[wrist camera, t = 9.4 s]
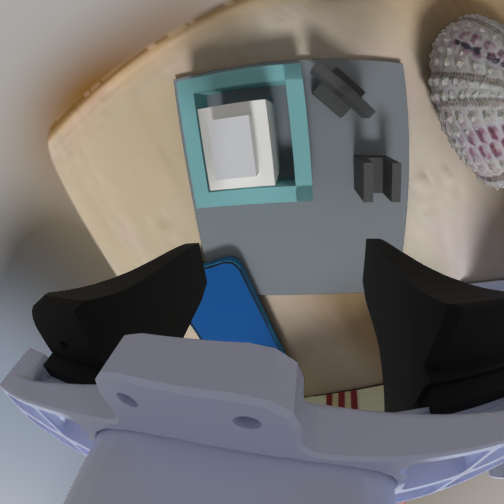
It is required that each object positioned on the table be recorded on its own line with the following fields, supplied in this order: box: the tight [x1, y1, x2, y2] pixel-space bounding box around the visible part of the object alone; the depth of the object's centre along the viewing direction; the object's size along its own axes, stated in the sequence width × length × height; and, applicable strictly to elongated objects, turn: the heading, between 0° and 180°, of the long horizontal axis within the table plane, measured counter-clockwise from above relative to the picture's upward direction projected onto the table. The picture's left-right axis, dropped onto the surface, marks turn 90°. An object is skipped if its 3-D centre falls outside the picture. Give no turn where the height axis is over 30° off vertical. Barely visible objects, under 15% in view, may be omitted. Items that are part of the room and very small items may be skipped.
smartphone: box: [190, 256, 286, 355], centre depth 26 cm, size 7×1×15 cm
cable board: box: [174, 59, 409, 295], centre depth 18 cm, size 16×18×4 cm
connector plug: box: [198, 99, 281, 191], centre depth 15 cm, size 4×4×6 cm
